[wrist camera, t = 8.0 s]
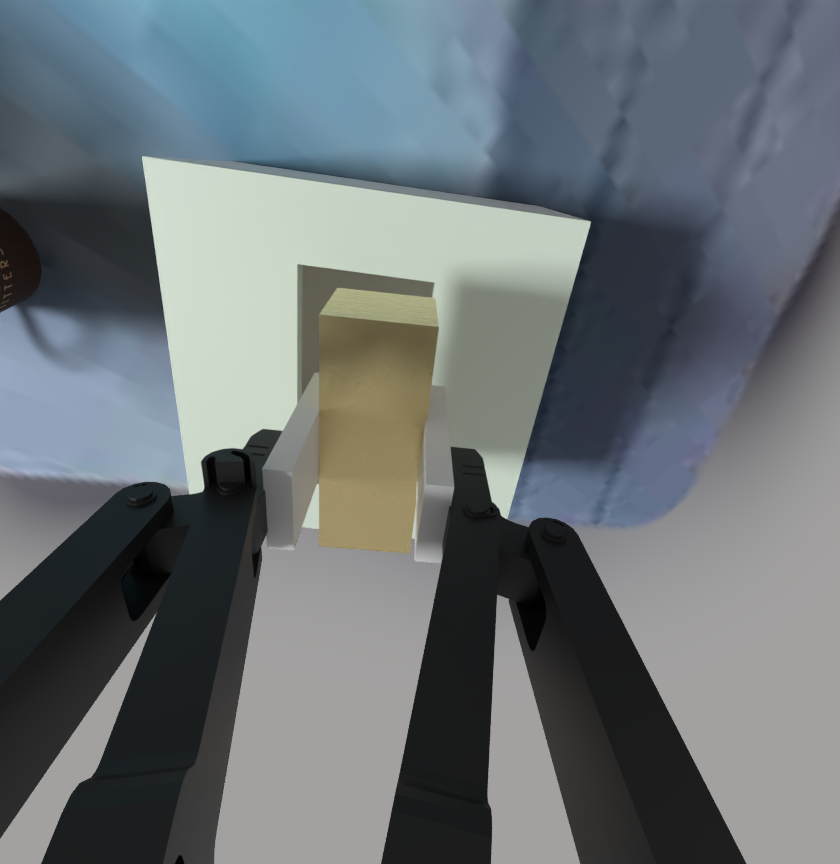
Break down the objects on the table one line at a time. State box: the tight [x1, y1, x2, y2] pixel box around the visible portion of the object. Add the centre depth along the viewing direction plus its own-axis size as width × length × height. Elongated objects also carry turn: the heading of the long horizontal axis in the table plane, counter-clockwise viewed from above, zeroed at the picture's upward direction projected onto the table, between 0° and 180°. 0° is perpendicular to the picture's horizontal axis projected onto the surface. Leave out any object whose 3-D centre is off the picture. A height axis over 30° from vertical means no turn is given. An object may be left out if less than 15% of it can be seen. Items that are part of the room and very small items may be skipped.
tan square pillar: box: [319, 288, 439, 553], centre depth 17 cm, size 4×9×4 cm, turn 174°
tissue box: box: [142, 156, 591, 539], centre depth 27 cm, size 18×18×10 cm
